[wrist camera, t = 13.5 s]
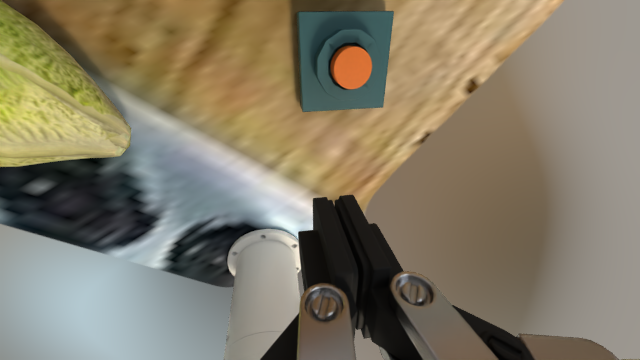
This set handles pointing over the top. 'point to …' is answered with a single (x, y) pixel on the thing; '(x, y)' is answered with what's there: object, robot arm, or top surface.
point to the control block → (325, 40)
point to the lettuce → (50, 101)
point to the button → (351, 67)
